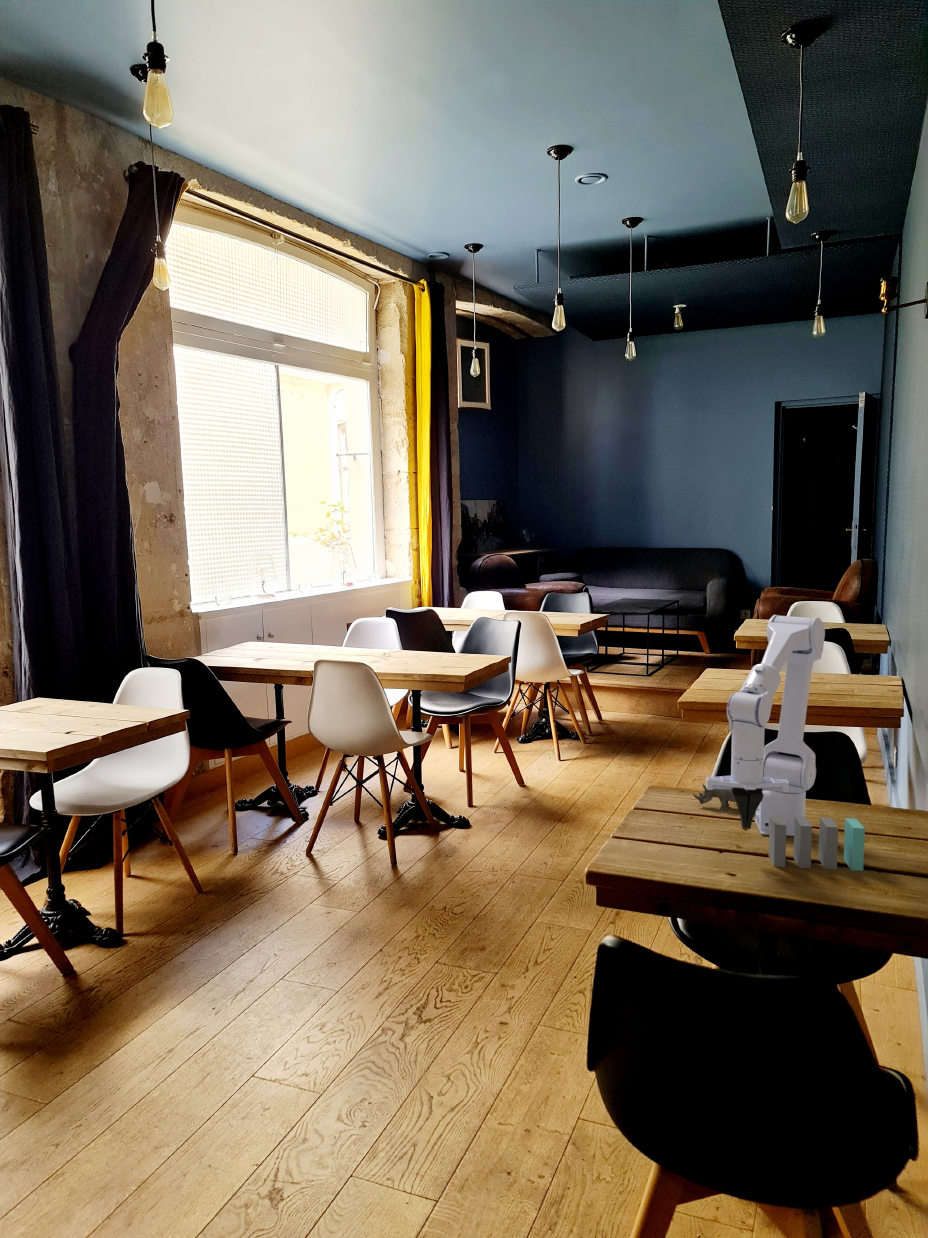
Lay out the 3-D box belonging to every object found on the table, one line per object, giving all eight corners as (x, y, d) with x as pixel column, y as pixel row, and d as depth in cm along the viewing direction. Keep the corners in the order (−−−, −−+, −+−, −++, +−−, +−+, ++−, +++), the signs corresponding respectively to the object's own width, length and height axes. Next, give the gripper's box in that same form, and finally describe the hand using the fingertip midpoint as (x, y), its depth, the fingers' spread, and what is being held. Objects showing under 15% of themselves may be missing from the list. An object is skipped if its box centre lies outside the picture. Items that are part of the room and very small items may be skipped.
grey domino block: (825, 869, 156) (826, 827, 155) (818, 858, 161) (819, 817, 160) (836, 869, 156) (838, 827, 155) (829, 858, 161) (831, 817, 160)
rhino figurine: (692, 803, 193) (692, 777, 192) (756, 807, 190) (756, 781, 189) (692, 809, 189) (693, 783, 189) (758, 813, 186) (758, 786, 185)
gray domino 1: (773, 866, 158) (775, 825, 157) (768, 856, 163) (769, 815, 162) (785, 867, 158) (786, 825, 157) (779, 856, 162) (780, 816, 161)
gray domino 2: (799, 868, 157) (800, 826, 156) (793, 857, 162) (794, 816, 161) (810, 868, 157) (812, 826, 156) (804, 857, 162) (805, 817, 161)
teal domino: (851, 870, 156) (853, 828, 155) (843, 859, 161) (845, 818, 160) (863, 870, 155) (864, 828, 154) (854, 860, 160) (856, 818, 159)
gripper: (709, 761, 156) (708, 833, 158) (793, 764, 154) (791, 836, 155) (705, 751, 163) (704, 819, 164) (785, 753, 160) (783, 823, 162)
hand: (745, 827), depth 160 cm, fingers closed
